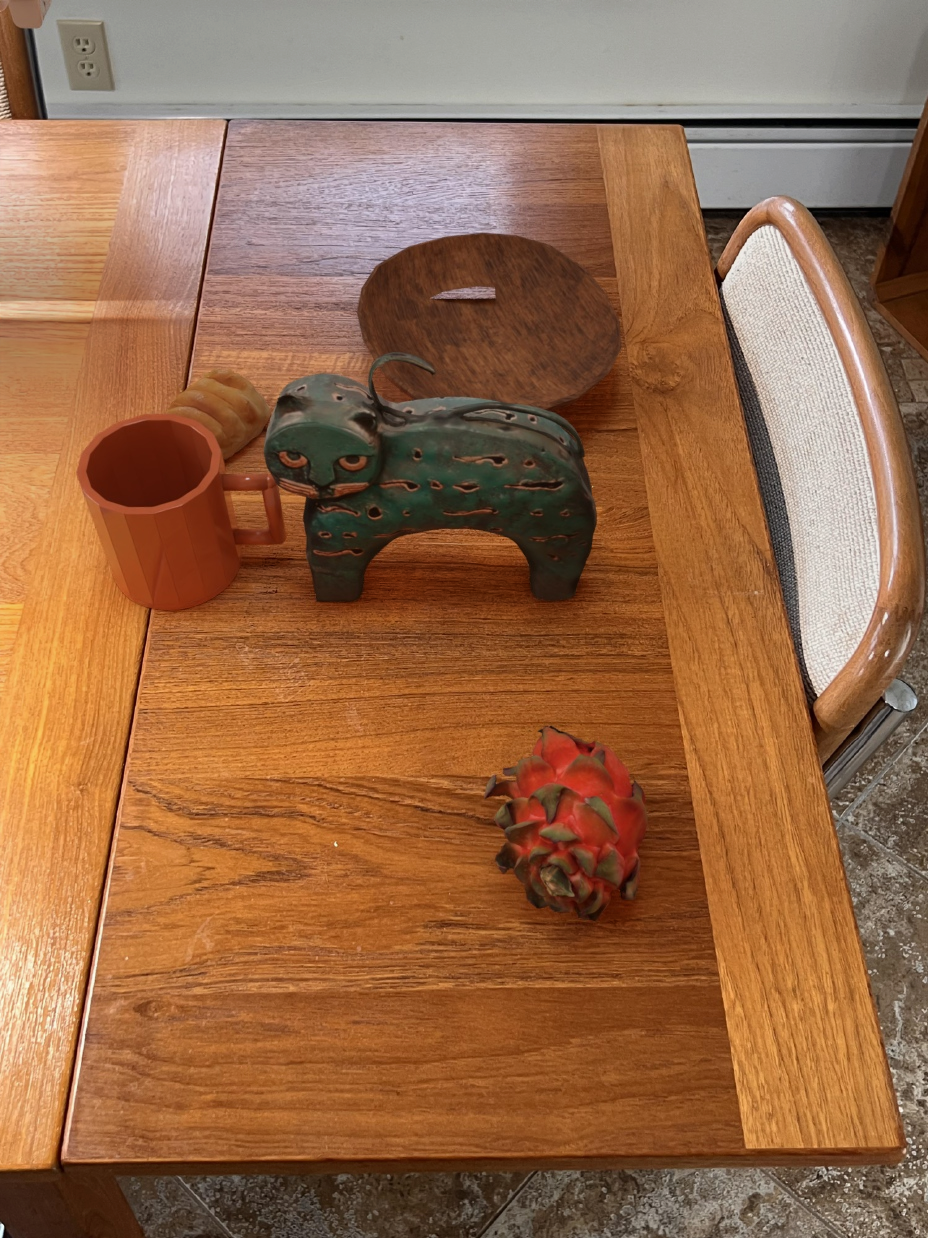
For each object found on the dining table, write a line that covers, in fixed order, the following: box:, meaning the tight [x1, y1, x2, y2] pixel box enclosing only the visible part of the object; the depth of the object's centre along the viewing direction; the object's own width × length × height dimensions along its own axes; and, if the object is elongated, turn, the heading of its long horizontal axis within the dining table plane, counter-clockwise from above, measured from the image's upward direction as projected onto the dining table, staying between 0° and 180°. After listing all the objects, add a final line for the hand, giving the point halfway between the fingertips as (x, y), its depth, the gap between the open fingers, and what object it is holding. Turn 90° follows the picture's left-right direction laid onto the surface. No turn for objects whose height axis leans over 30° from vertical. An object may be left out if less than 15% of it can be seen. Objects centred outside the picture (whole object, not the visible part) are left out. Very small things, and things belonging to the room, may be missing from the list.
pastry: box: [164, 368, 272, 462], centre depth 85 cm, size 9×7×4 cm
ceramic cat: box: [263, 352, 598, 603], centre depth 71 cm, size 20×6×20 cm, turn 89°
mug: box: [76, 413, 288, 611], centre depth 76 cm, size 12×9×10 cm
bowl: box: [356, 232, 622, 413], centre depth 90 cm, size 20×22×5 cm
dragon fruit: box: [483, 725, 649, 922], centre depth 64 cm, size 8×8×12 cm
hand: (34, 17), depth 73 cm, fingers closed
